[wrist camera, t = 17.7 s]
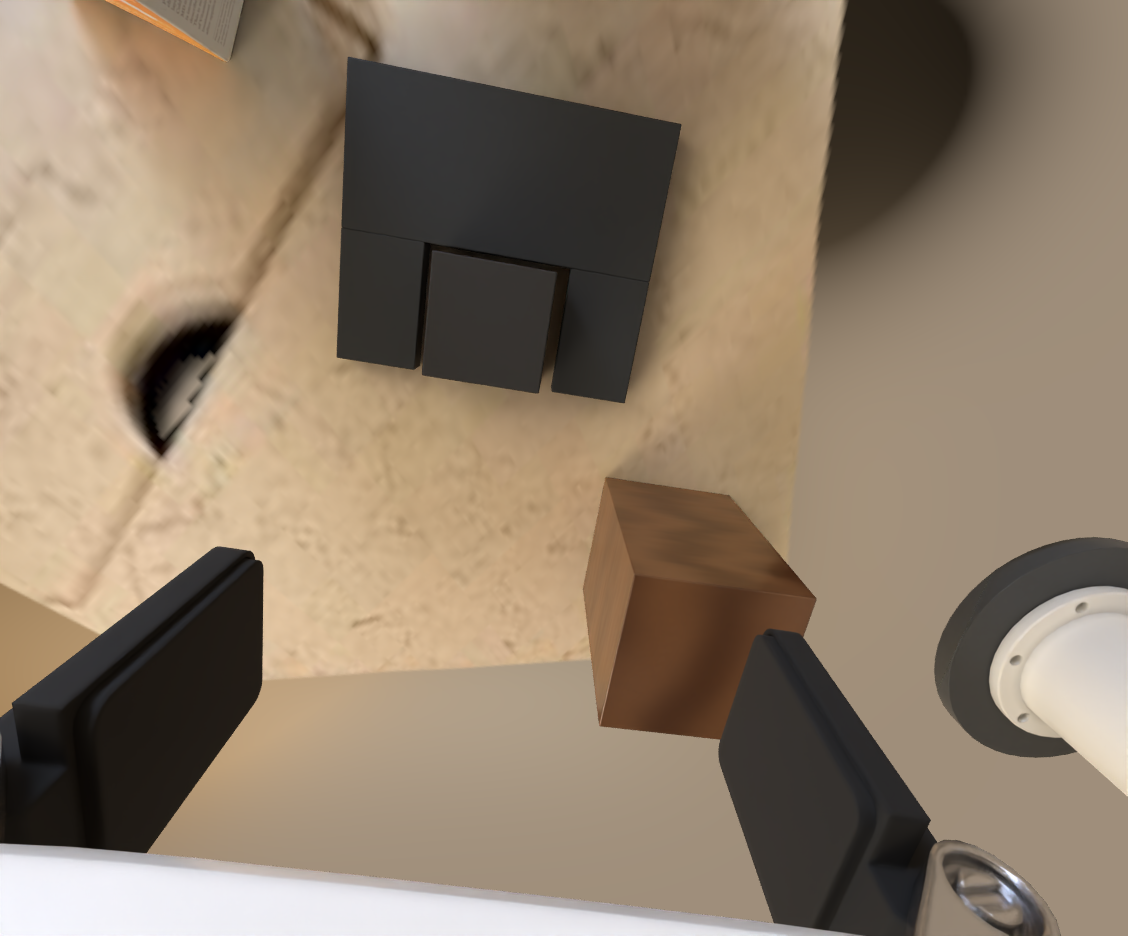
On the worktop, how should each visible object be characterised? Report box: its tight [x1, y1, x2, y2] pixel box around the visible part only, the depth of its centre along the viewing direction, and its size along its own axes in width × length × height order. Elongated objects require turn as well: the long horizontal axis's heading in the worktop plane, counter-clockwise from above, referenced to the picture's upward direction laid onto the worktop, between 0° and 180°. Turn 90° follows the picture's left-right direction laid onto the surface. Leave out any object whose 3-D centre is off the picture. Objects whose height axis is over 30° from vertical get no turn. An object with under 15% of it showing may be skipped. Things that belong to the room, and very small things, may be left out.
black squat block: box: [422, 250, 557, 393], centre depth 29 cm, size 6×6×4 cm
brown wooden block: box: [583, 477, 816, 740], centre depth 30 cm, size 8×8×12 cm
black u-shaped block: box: [337, 57, 681, 403], centre depth 29 cm, size 16×14×2 cm
